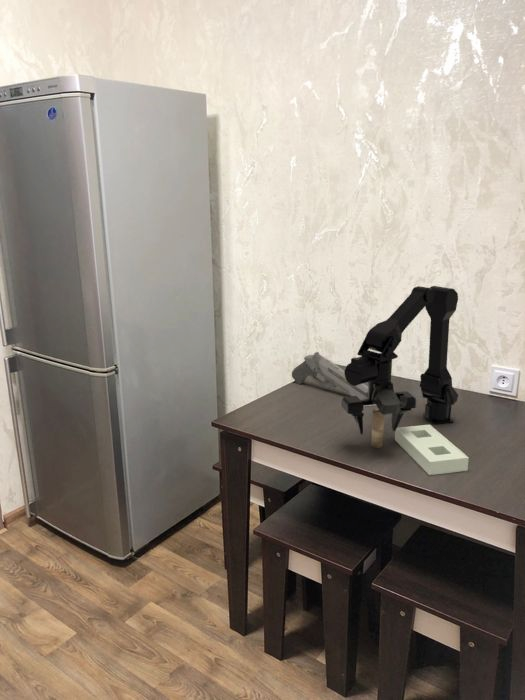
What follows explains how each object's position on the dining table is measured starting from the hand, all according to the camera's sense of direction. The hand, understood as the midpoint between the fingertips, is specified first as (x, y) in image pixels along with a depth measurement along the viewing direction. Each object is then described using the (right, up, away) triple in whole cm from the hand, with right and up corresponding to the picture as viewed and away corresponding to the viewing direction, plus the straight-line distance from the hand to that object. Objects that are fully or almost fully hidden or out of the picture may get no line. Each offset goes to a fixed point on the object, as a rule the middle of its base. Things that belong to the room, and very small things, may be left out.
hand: (377, 432), depth 150 cm
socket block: (+12, -5, -5) cm, 14 cm away
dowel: (0, -4, +1) cm, 4 cm away
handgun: (-8, +7, +40) cm, 42 cm away
